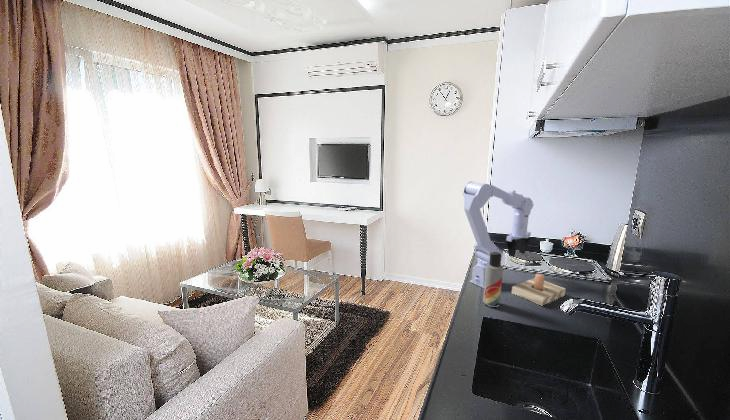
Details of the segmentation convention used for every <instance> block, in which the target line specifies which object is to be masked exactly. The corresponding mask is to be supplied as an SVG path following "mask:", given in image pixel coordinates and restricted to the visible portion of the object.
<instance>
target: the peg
mask: <svg viewBox="0 0 730 420" xmlns="http://www.w3.org/2000/svg"><path fill="white" fill-rule="evenodd" d="M534 278H535V282H534V289H537V290H539V291H543V286H544V281H545V278H546V276H545V275H544V274H541V273H536V274H535V276H534Z"/></svg>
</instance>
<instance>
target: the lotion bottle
mask: <svg viewBox="0 0 730 420" xmlns="http://www.w3.org/2000/svg"><path fill="white" fill-rule="evenodd" d="M501 254H502V252H501V253H498V252H493V253H490V261H489V263H488V264H487V265H486V273H485V285H484V288H483V299H482V303H483V302H484V303H485V304H487V305H491V306H497V305H499V304H501V297H502V295H501V294H502V283H503V275H504V266H503V265H502V259H501V257H503V254H502V255H501ZM499 306H500V305H499Z"/></svg>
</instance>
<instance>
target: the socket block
mask: <svg viewBox="0 0 730 420" xmlns="http://www.w3.org/2000/svg"><path fill="white" fill-rule="evenodd" d="M534 282H535V277H533V278H531V279H527V280H526V281H522V282H521V283H518V284H516V285H513V286H511V294H512V295H513V294H515V295H514V296H516V295H517V296H516V297H518V296H520V297H523V298H525V299H528V300H530V301H532V302H534V303H536V304H539V305H541V306H543V305H545V304H547V303H549V302H551V301H553V302H555V301H557V300H559V299H561V298H563V297H565V296H566V295H565V294H566V289H567V288H565V287H562V286H560V285H557V284H554V283H550V282H549V281H546V280H544V286H543V291H539V290H537V289H534ZM520 297H519V298H520ZM560 297H561V298H560ZM558 298H559V299H558ZM525 299H524V300H525ZM556 299H557V300H556ZM554 300H555V301H554ZM532 302H531V303H532ZM534 303H533V304H534ZM551 303H552V302H551ZM536 304H535V305H536ZM549 304H550V303H549ZM539 305H538V306H539ZM547 305H548V304H547ZM541 306H540V307H541ZM545 306H546V305H545ZM543 307H544V306H543Z"/></svg>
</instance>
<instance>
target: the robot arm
mask: <svg viewBox="0 0 730 420" xmlns="http://www.w3.org/2000/svg"><path fill="white" fill-rule="evenodd" d="M462 195H463V199H464V200H463V201H464V202H463V203H464V204H463V208H464V213H465V215H466V217H467V220H468V224H469V226H470V229H471V232H472V234H473V236H474V239H475V241H476V243H475V245H474V246H473V248H474V255H475V257H476V258H477V259H476V261H477V263H476V265H474V266H473V267H472V269H471V279H470V280H469V282H470V283H472V284H474V285H476V286H478V287H481V288H482V289H484V285H485V273H486V265H487V264H488V263H489V261H490V253H493V252H498V253H501V255H502V257H503V254H502V252H501V251H500V250H499V249H498V247H497V246H496V245H495V244H494V243H493V242H492V240H491V238H490V235H489V234H490V233H489V231H488V229H487V225H486V223H485V220H484V218H483V214H482V212H481V211H482V210H481V208H484V206H485V205H486V204H487V202H488V201H489V200H490V198H493V197H494V198H495V197H496V198H498V199H501V202H502V203H503V204H504V205H507V206H509V207H512V209H514V211H513V217H512V228H511V233H509V235H506V238H505V239H504V243H505V244H506V247H507V251H508V252H507V253H508V256H509V257H512V258H514V257H515V255H516V253H517V252H516V251H517V248H518V252H519V253H521V254H525V253H526V251H527V248H528V247H529V245H530V243H531V242H532V240H533V238H532V237H531V233H532V232H530V231H528V225H529V216H530V215H531V212H532V209H533V207H534V205H535V204H534V202H533V200H532V199H531V198H530V197H526V196H523V195H524V194H522V193H517V191H516V190H514V189H510V190H506V191H505V190H502V189H501V188H499V187H497V186H496V185H493V184H489V183H480V182H475V181H473V180H470V181H468V182H466V184H465V185H464V187H463V189H462ZM517 240H518V241H517ZM502 257H501V260H502V259H503V258H502Z"/></svg>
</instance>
